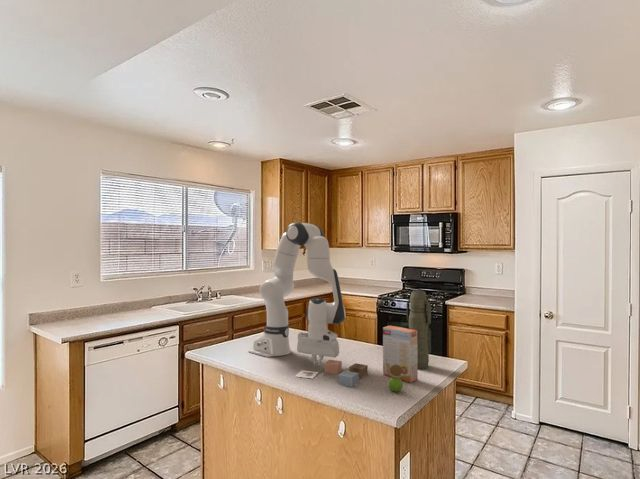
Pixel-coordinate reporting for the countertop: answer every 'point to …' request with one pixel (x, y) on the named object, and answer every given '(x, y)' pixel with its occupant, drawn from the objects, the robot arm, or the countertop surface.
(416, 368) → the cracker box
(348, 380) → the slate block
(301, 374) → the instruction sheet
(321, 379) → the countertop surface
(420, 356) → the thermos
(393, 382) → the snail figurine
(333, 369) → the terracotta block
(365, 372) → the base block
